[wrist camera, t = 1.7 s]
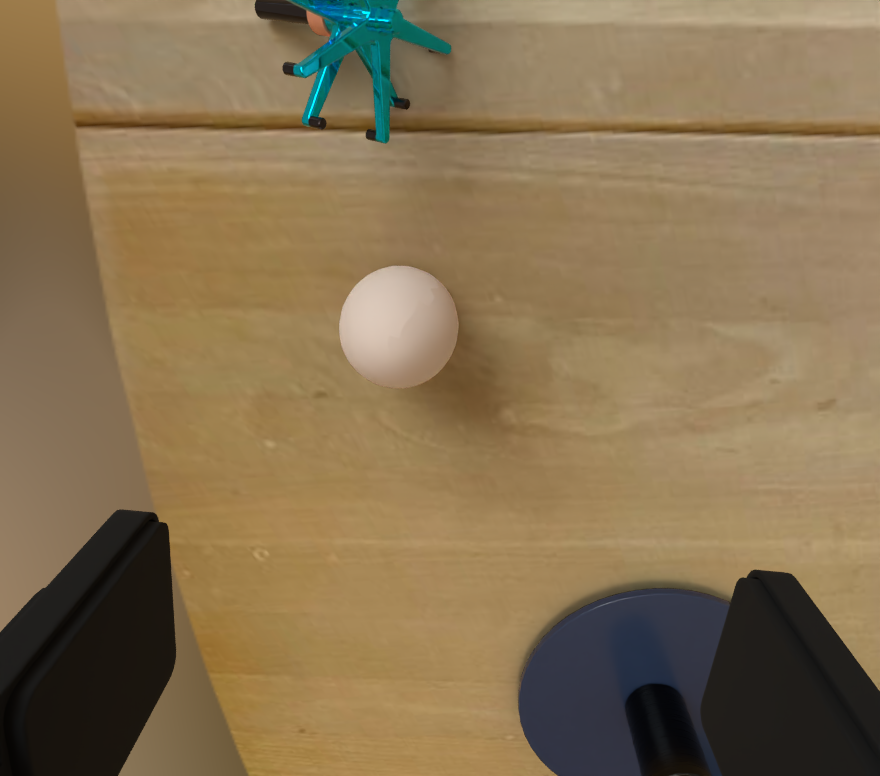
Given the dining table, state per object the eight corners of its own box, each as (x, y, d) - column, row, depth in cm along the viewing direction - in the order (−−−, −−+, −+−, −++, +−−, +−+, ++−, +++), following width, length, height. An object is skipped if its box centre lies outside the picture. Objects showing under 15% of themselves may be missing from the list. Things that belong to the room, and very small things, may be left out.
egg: (331, 302, 31) (295, 346, 25) (409, 231, 30) (392, 258, 23) (403, 378, 32) (386, 439, 26) (482, 312, 31) (484, 359, 25)
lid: (814, 589, 35) (886, 688, 29) (755, 795, 40) (806, 915, 34) (529, 571, 36) (540, 664, 29) (507, 776, 41) (513, 892, 35)
